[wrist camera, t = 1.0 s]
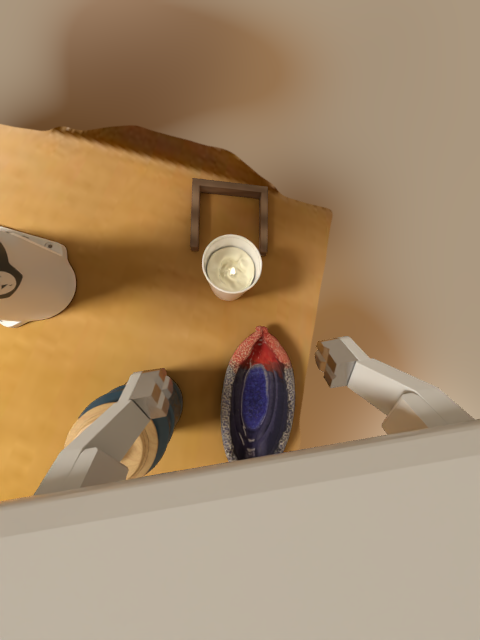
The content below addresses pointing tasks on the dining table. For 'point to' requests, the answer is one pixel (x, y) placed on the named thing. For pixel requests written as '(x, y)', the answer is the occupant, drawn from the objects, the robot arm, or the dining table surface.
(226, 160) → the dining table surface
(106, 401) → the canister
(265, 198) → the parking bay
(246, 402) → the dish
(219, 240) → the candle holder
